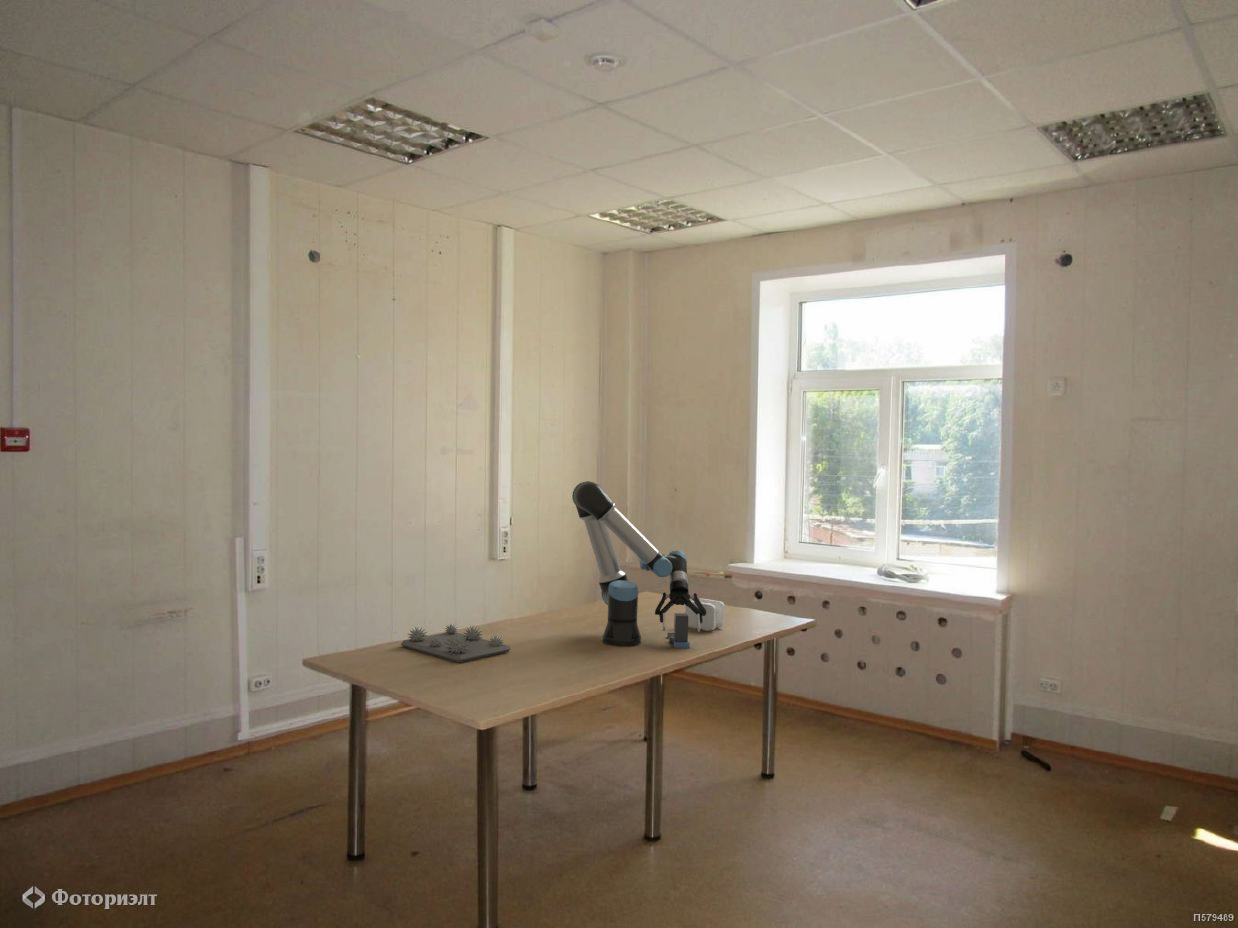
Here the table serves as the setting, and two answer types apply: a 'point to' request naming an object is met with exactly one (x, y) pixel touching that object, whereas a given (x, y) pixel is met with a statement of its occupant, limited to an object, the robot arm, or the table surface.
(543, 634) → the table surface
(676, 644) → the blue flat block
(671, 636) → the pair of grey bars
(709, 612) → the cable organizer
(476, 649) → the decorative tray
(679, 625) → the dark grey rectangular block
